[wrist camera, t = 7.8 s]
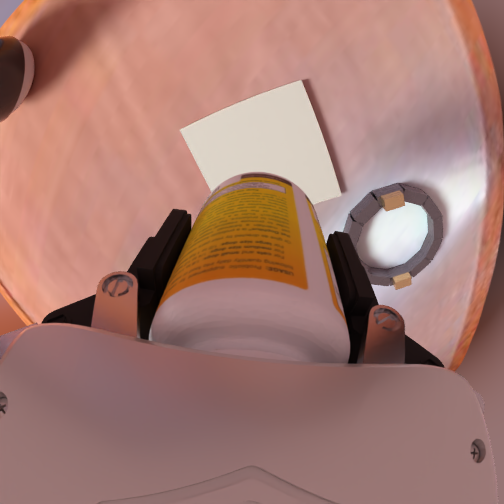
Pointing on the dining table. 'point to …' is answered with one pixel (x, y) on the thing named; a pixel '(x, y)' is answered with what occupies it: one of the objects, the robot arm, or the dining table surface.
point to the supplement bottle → (255, 278)
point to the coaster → (266, 142)
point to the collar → (389, 200)
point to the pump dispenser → (14, 74)
